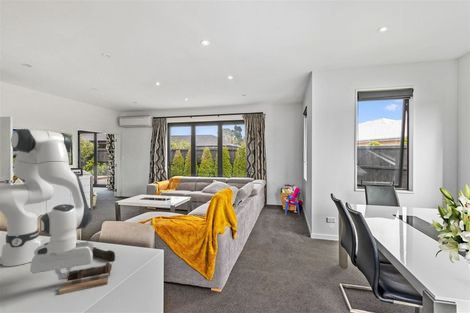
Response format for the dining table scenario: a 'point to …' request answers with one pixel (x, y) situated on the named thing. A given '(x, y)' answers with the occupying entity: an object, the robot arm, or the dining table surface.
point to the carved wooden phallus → (104, 254)
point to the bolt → (90, 272)
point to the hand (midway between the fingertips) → (63, 278)
